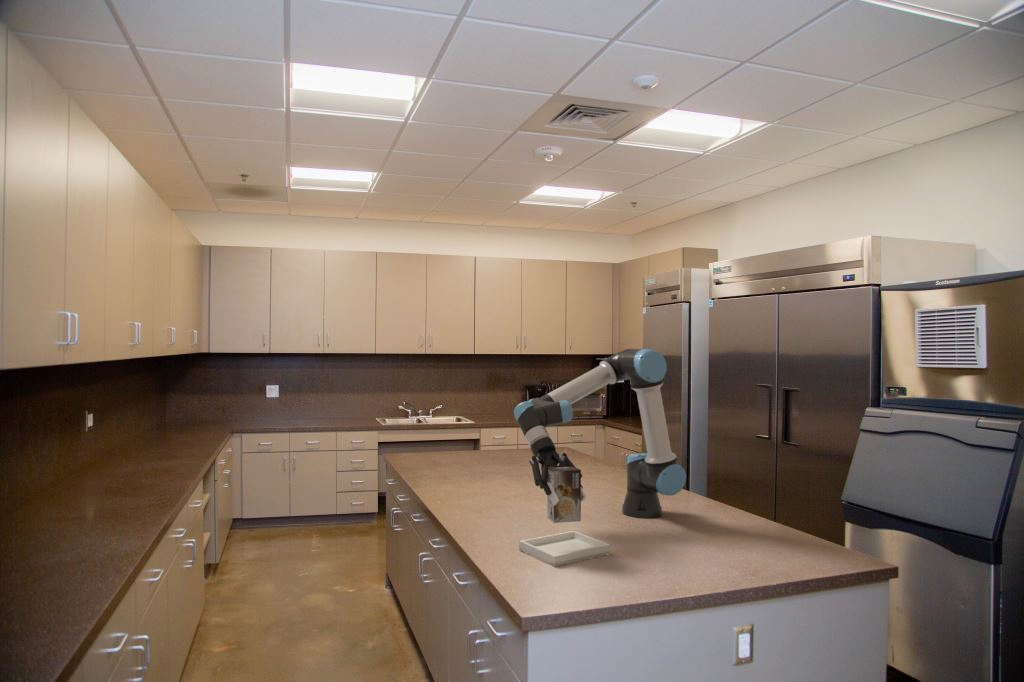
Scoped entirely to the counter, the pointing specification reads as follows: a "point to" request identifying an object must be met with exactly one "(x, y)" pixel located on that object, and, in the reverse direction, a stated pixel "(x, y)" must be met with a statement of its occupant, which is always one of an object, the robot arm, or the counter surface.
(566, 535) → the white tray
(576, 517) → the coffee box
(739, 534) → the counter surface
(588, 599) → the counter surface
